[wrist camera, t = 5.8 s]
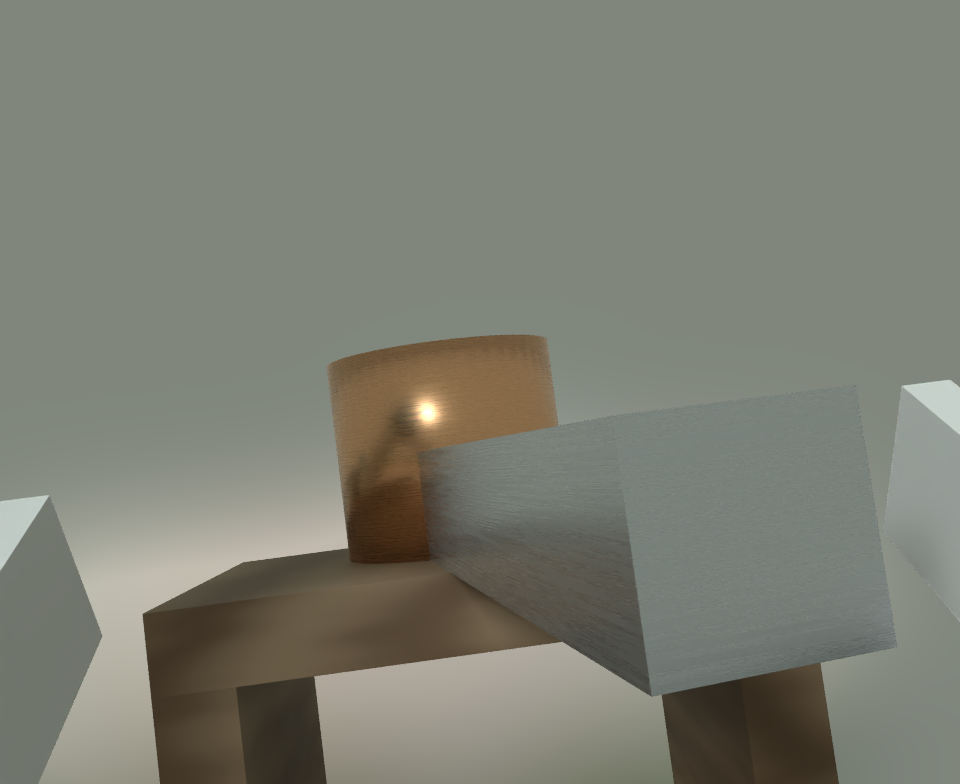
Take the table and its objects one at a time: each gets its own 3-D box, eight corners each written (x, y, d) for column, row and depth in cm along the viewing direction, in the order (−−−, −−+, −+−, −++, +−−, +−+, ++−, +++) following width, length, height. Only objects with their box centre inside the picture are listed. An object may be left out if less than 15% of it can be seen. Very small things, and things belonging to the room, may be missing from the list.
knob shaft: (468, 733, 9) (395, 155, 9) (343, 551, 30) (322, 378, 31) (1043, 617, 10) (960, 125, 11) (538, 521, 32) (516, 357, 32)
